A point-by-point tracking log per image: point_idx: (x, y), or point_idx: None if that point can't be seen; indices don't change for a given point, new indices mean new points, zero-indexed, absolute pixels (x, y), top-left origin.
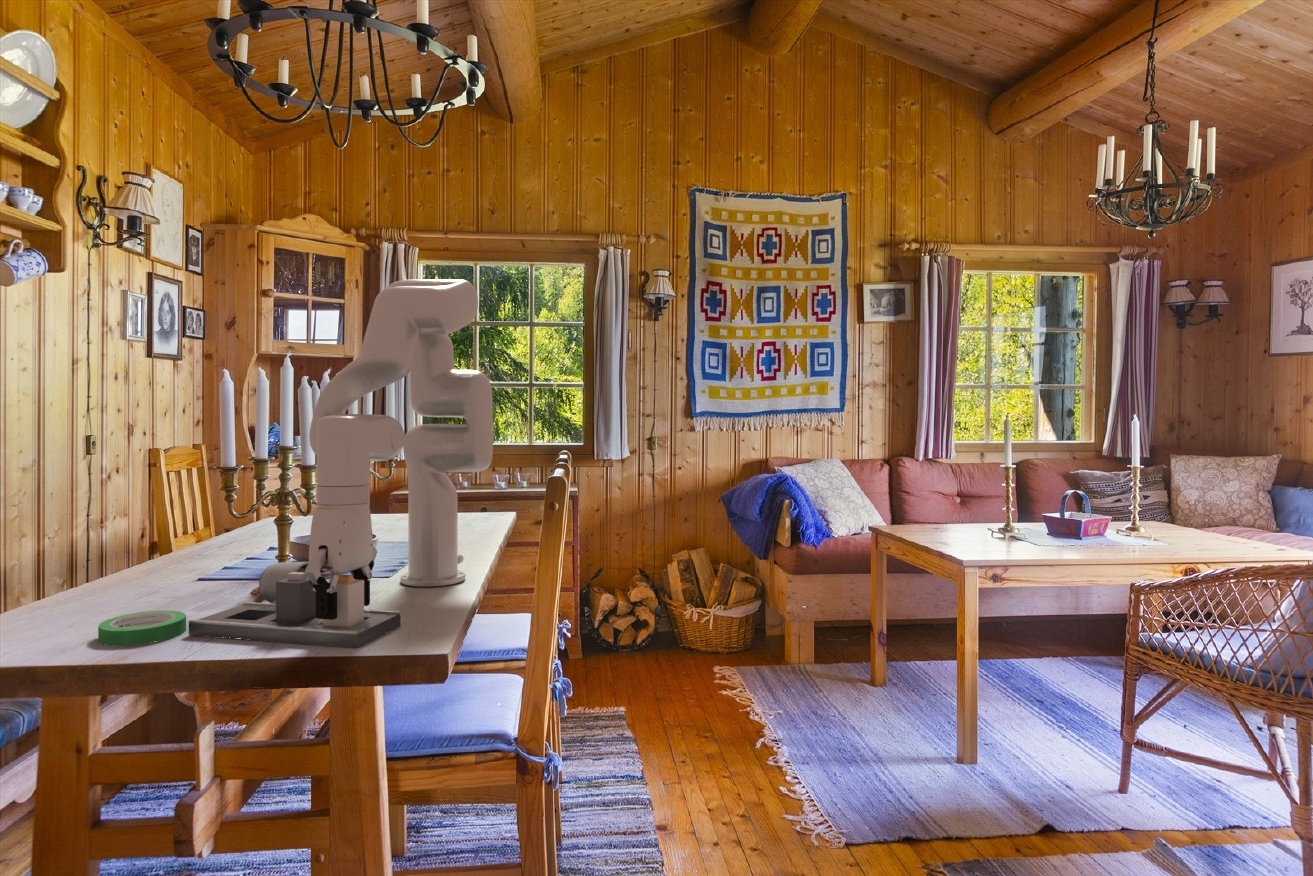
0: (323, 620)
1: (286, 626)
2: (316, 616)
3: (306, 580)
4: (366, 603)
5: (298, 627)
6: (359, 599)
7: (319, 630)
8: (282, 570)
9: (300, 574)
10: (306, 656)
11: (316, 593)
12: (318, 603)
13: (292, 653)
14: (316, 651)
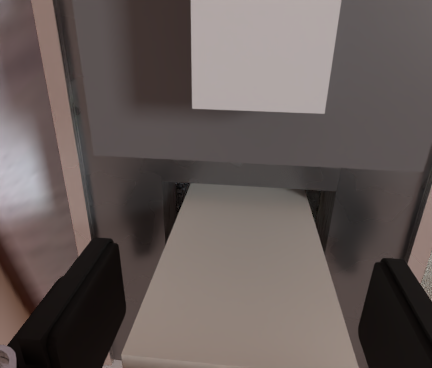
0: (180, 210)
1: (60, 90)
2: (94, 240)
3: (233, 139)
4: (360, 339)
5: (68, 156)
6: None
7: (79, 248)
8: None
9: (194, 86)
10: (3, 236)
11: (27, 331)
12: (34, 314)
13: (4, 182)
14: (51, 239)
